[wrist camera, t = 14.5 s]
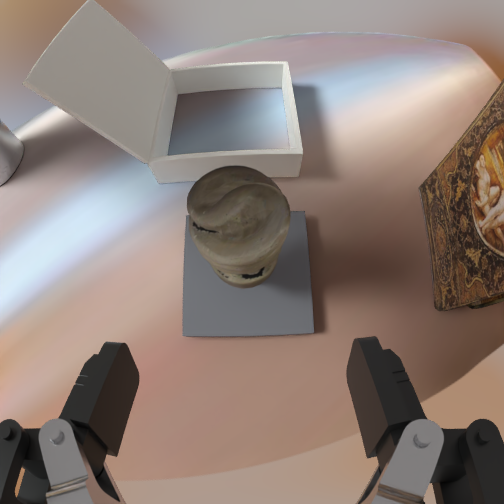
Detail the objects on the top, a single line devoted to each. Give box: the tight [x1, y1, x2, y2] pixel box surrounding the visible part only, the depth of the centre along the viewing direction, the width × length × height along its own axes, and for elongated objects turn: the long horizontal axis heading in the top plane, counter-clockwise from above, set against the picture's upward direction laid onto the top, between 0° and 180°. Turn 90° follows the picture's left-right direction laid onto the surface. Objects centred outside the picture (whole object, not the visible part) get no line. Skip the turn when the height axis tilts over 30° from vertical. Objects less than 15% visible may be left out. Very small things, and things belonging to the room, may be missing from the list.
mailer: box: [23, 0, 303, 184], centre depth 26 cm, size 23×16×19 cm
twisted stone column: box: [187, 165, 291, 289], centre depth 21 cm, size 6×6×15 cm
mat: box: [183, 211, 314, 337], centre depth 29 cm, size 12×12×2 cm
